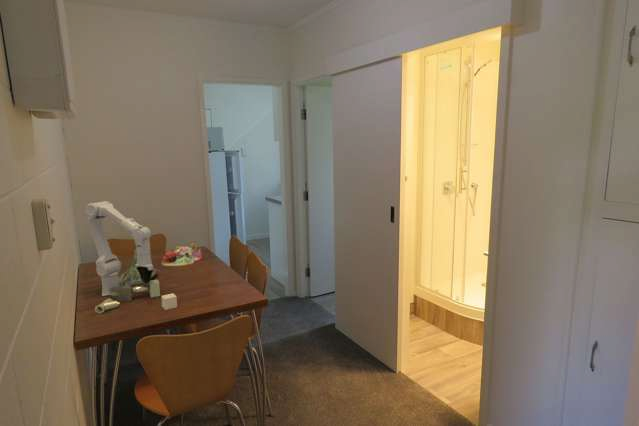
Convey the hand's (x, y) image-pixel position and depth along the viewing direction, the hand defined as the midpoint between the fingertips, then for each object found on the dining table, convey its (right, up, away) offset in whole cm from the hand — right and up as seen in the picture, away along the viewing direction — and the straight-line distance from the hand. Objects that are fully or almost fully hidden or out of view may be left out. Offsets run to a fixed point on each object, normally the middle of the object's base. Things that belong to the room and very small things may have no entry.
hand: (146, 281), depth 182 cm
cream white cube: (+16, -9, -12) cm, 22 cm away
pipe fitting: (-10, -10, -14) cm, 20 cm away
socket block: (+3, -7, +3) cm, 8 cm away
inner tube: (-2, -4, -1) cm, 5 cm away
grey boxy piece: (-9, -8, -4) cm, 13 cm away
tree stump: (-16, -4, +26) cm, 31 cm away
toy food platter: (-5, +2, +62) cm, 62 cm away
